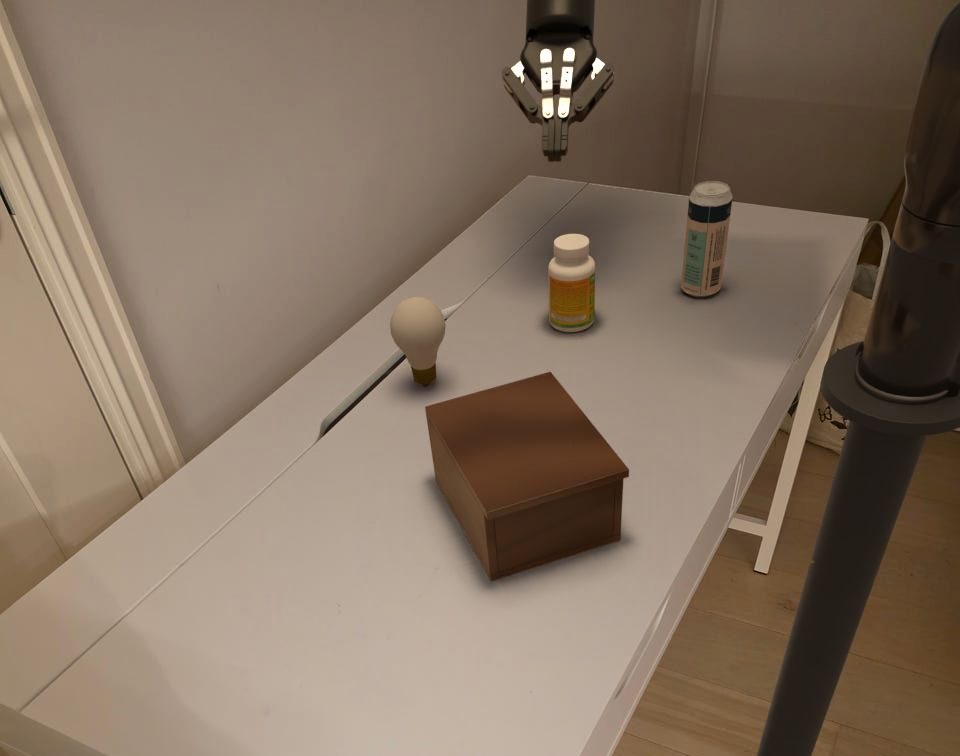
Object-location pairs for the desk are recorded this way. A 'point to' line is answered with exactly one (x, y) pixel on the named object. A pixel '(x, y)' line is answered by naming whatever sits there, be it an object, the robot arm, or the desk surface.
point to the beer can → (706, 238)
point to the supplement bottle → (571, 284)
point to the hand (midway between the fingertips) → (554, 158)
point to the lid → (524, 444)
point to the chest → (529, 521)
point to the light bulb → (419, 335)
